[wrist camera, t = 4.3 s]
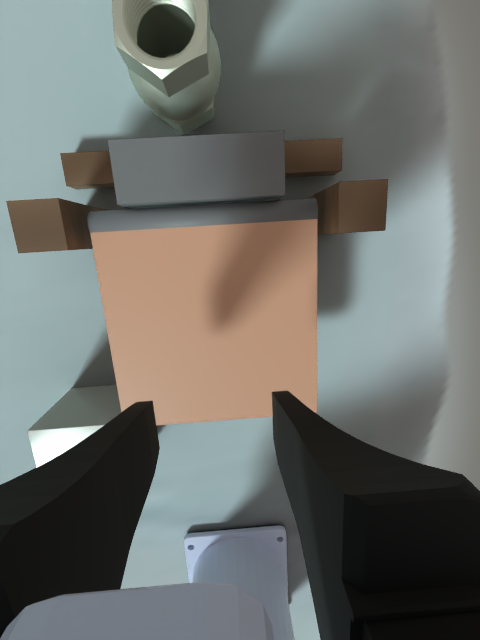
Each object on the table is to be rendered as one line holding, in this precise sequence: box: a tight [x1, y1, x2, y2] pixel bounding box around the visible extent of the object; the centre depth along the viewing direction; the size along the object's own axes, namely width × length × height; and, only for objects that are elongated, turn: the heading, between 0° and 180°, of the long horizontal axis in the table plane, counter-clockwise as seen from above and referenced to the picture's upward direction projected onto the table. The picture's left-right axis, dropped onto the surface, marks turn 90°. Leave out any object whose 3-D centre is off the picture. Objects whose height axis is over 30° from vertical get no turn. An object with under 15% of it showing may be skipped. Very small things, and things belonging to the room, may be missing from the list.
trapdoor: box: [87, 131, 318, 425], centre depth 15 cm, size 13×10×2 cm
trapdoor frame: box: [6, 138, 388, 253], centre depth 15 cm, size 5×15×6 cm, turn 93°
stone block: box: [27, 385, 121, 467], centre depth 20 cm, size 5×5×5 cm
